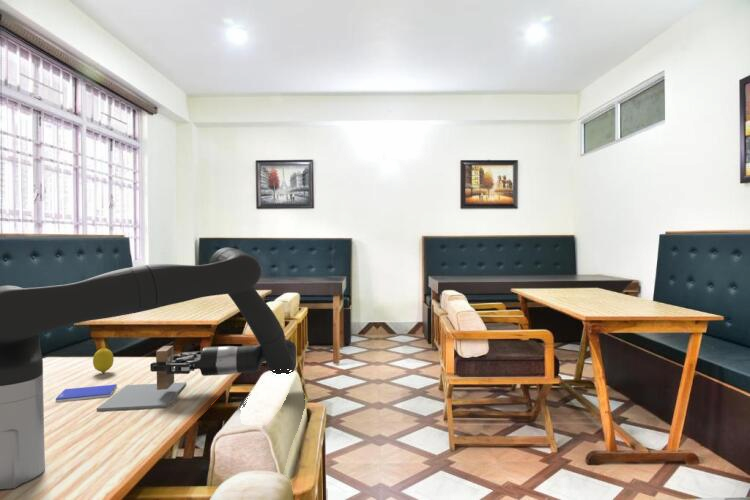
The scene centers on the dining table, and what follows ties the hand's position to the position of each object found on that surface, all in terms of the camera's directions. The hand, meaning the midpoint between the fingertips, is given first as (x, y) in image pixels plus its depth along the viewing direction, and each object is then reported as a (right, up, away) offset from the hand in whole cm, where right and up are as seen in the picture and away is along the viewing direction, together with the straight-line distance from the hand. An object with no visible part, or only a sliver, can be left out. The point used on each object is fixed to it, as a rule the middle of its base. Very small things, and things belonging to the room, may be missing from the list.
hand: (155, 363), depth 120 cm
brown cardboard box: (+3, -6, +1) cm, 7 cm away
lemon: (-27, -9, +22) cm, 36 cm away
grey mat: (-3, -9, 0) cm, 9 cm away
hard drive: (-19, -9, +2) cm, 22 cm away
